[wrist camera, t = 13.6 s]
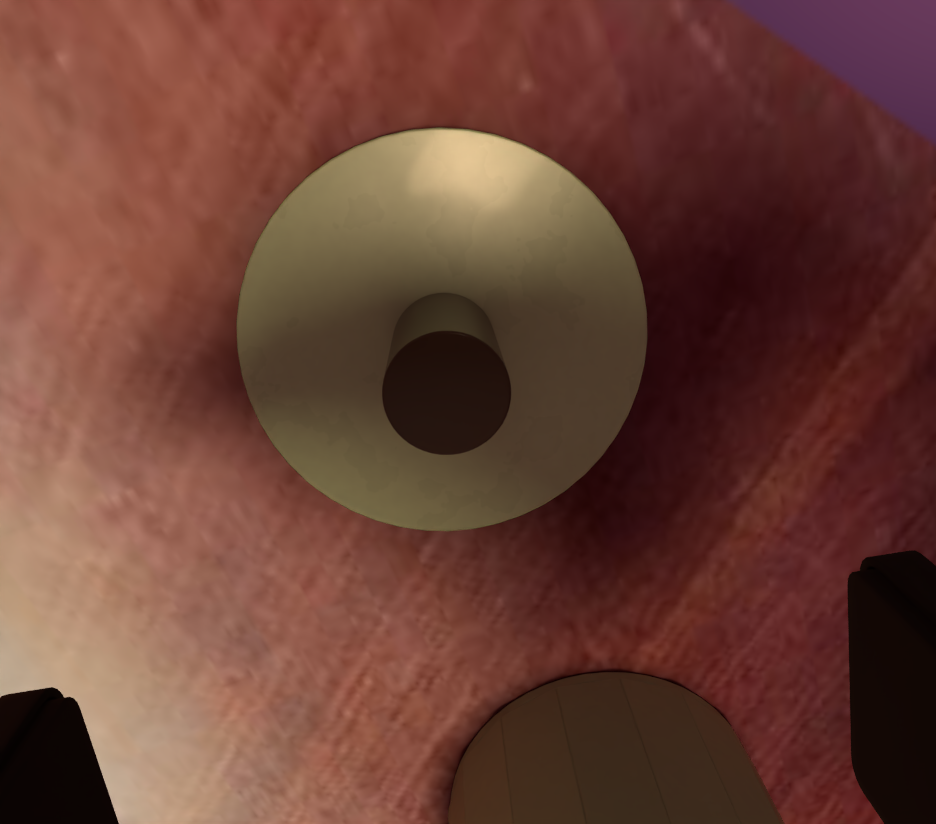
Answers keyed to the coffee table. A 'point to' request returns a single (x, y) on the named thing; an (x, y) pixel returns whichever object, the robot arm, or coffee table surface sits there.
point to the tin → (609, 759)
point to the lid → (441, 329)
